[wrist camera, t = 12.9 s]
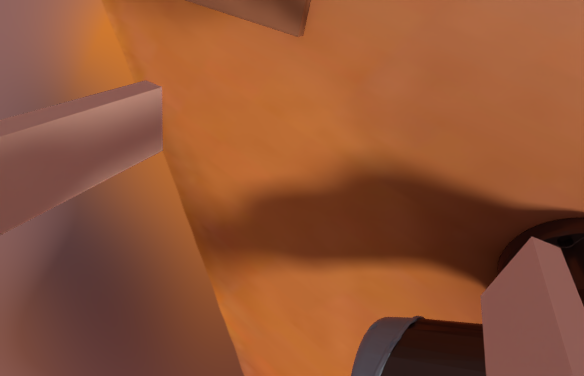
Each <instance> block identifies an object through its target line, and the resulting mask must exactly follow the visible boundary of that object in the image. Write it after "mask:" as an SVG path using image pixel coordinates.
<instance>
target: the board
mask: <svg viewBox="0 0 584 376" xmlns="http://www.w3.org/2000/svg"><path fill="white" fill-rule="evenodd" d="M186 1H189V2H192V3H196V4H199V5H202V6H205V7H208V8H211V9H214V10H217V11H220V12H223V13H226V14H229V15H232V16H235V17H238V18H242V19H245V20H248V21H251V22H254V23H257V24H260V25H263V26H266V27H269V28H272V29H275V30H278V31H281V32H284V33H288V34H291V35H294V36H297V37H300V36H303V34H304V29H305V25H306V20H307V15H308V11H309V6H310V2H311V0H186Z"/></svg>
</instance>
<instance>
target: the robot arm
mask: <svg viewBox="0 0 584 376" xmlns="http://www.w3.org/2000/svg"><path fill="white" fill-rule="evenodd" d="M161 151H163V142H162V87H161V86H158V85H156V84H153V83H151V82H148V81H142V82H138V83H134V84H131V85H127V86H123V87H120V88H116V89H113V90H109V91H105V92H101V93H97V94H94V95H90V96H86V97H83V98H79V99H75V100H72V101H68V102H64V103H60V104H57V105H53V106H50V107H46V108H42V109H38V110H35V111H31V112H27V113H23V114H20V115H16V116H13V117H9V118H5V119H1V120H0V235H2V234H4V233H6V232H8V231H9V230H11V229H13V228H15V227H17V226H19V225H21V224H23V223H25V222H27V221H29V220H31V219H33V218H34V217H36V216H38V215H40V214H42V213H44V212H46V211H48V210H50V209H52V208H53V207H56V206H57V205H59V204H61V203H63V202H65V201H67V200H69V199H71V198H73V197H75V196H77V195H78V194H80V193H82V192H84V191H86V190H88V189H90V188H92V187H94V186H96V185H98V184H100V183H101V182H103V181H105V180H107V179H109V178H111V177H113V176H115V175H117V174H118V173H120V172H123V171H125V170H126V169H128V168H130V167H132V166H134V165H136V164H138V163H140V162H142V161H143V160H146V159H148V158H149V157H151V156H153V155H155V154H157V153H159V152H161ZM481 308H482V322H483V324H475V323H464V322H454V321H443V320H432V319H425V318H424V317H422V316H415V317H413V318H403V317H384V318H381V319H379V320H377V321H376V322H375V323H373V324H372V325H371V326H370V328H369V329H368V331H367V333H366V334H365V335H364V337H363V339H362V341H361V343H360V346H359V348H358V351H357V354H356V357H355V361H354V365H353V369H352V374H351V376H584V218H572V219H563V220H557V221H552V222H548V223H544V224H541V225H539V226H536V227H534V228H531V229H529V230H527V231H525V232H524V233H522V234H520V235H519V236H517V237H516V238H515V239H514V240H513V241H511V242H510V243H509V245H508V246H507V247H506V248H505V250H504V251H503V253H502V255H501V257H500V259H499V263H498V276H497V277H496V278H495V280H494V281H493V282H492V283H491V284H490V285H489V287H488V288H487V289H486V290H485V291H484V292H483V294H482V295H481Z"/></svg>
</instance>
